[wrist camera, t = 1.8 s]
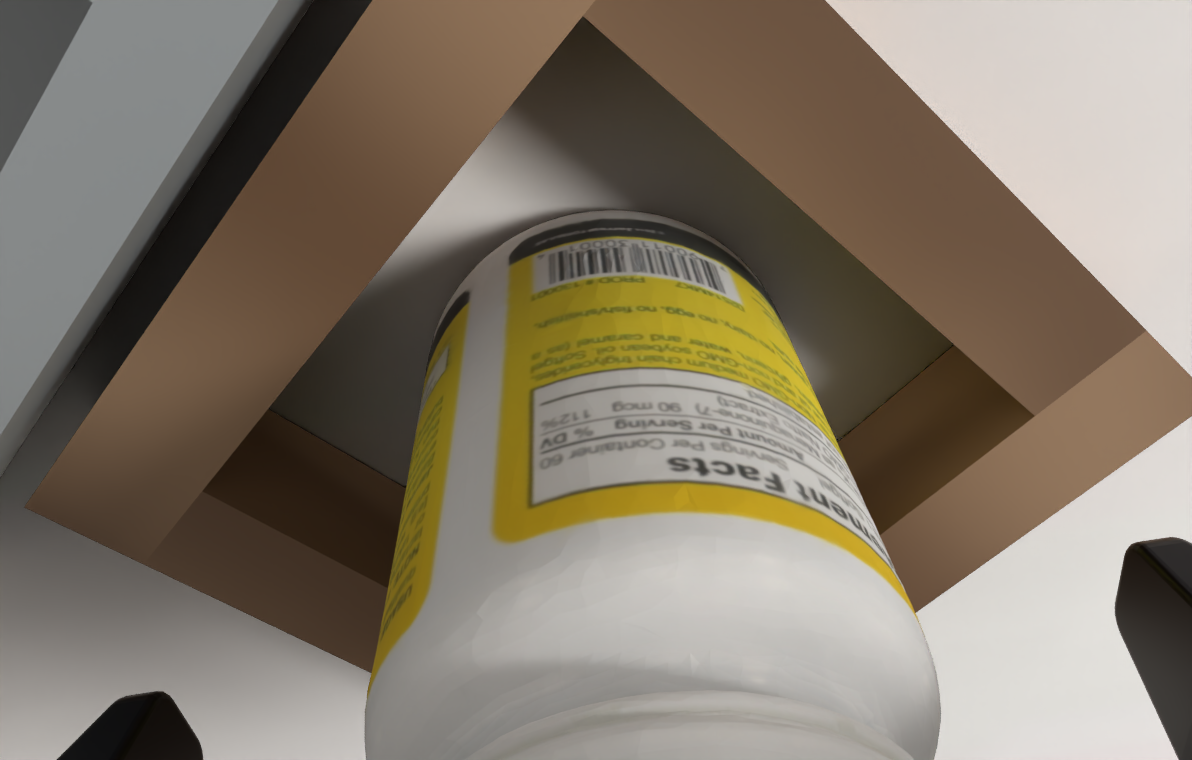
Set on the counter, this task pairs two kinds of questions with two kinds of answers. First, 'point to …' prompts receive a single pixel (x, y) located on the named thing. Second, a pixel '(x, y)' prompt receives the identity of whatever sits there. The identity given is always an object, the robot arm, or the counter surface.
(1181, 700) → the robot arm
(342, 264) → the holder ring
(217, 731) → the counter surface
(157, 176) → the tray
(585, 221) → the supplement bottle
